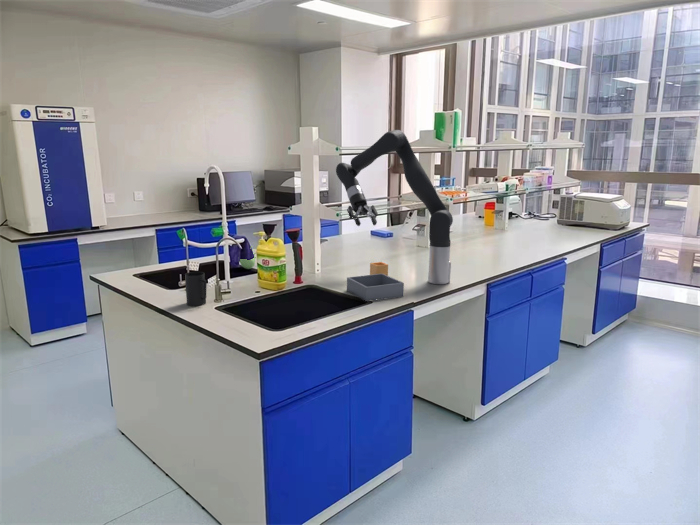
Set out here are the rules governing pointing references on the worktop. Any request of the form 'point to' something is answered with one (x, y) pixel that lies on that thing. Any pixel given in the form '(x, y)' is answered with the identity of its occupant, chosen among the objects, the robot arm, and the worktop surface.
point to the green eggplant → (248, 262)
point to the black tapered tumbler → (195, 288)
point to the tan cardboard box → (378, 268)
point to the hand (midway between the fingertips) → (367, 224)
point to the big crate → (375, 287)
